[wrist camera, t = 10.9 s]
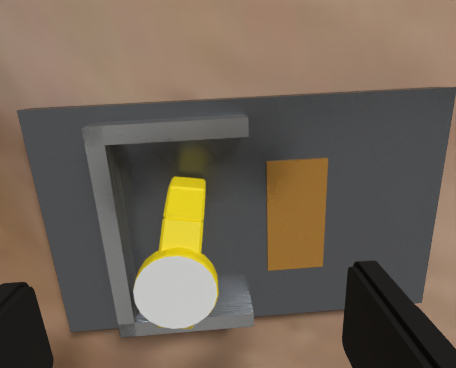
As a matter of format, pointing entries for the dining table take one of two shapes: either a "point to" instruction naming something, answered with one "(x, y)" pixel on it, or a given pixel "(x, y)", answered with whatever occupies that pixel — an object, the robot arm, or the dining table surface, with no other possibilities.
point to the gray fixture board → (241, 196)
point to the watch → (178, 263)
